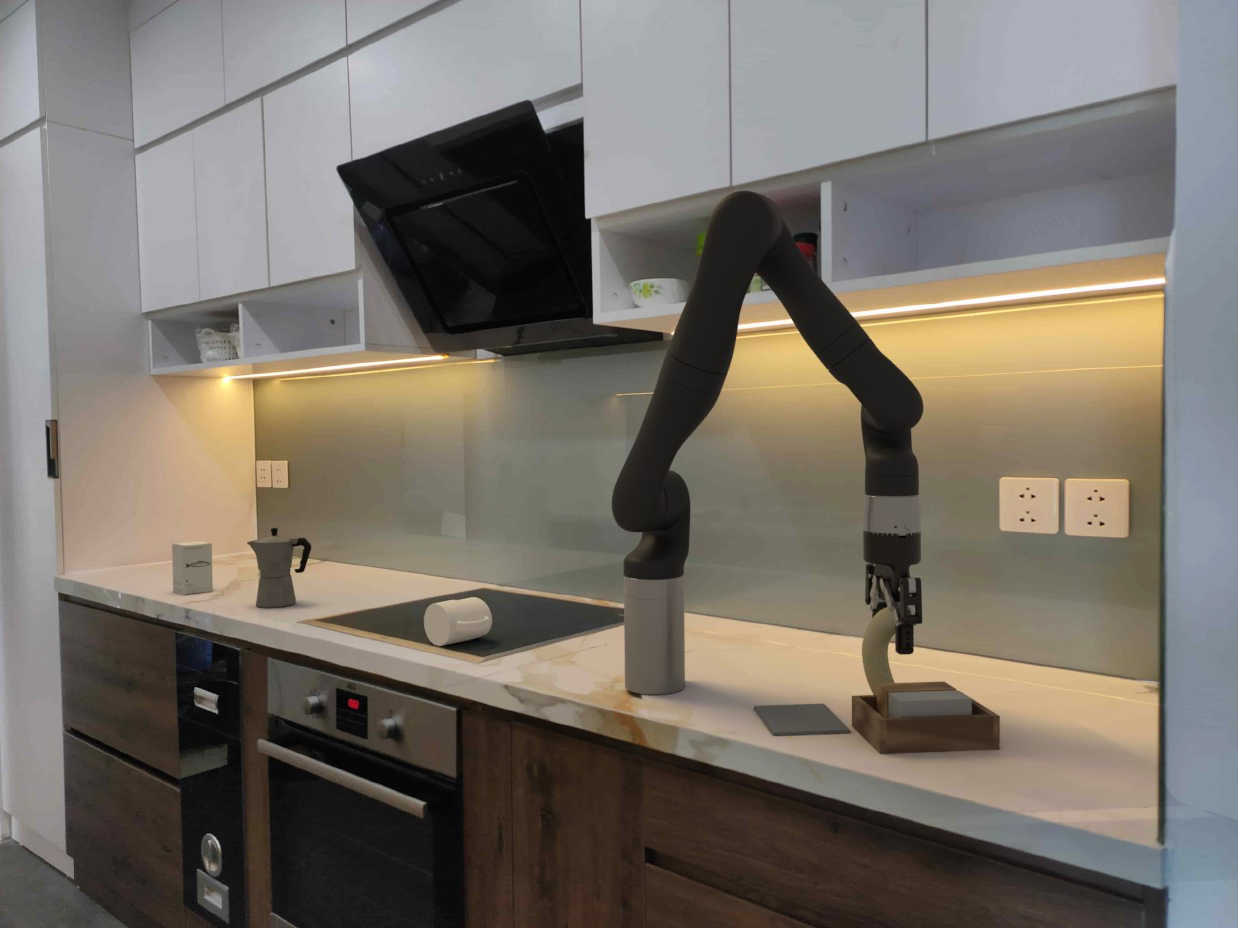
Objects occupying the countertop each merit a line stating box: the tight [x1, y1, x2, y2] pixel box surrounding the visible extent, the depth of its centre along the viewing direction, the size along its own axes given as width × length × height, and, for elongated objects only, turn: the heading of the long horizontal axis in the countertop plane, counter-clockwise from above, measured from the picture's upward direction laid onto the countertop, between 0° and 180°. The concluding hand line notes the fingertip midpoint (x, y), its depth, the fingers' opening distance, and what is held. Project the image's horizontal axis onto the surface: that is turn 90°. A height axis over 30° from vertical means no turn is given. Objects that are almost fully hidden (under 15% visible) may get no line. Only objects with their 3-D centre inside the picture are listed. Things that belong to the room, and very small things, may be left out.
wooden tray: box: [851, 692, 1001, 755], centre depth 109 cm, size 10×15×4 cm
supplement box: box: [171, 540, 214, 596], centre depth 222 cm, size 7×7×13 cm
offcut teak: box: [877, 681, 958, 718], centre depth 111 cm, size 4×9×6 cm, turn 94°
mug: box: [423, 596, 493, 647], centre depth 164 cm, size 12×9×8 cm
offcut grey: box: [889, 689, 973, 718], centre depth 107 cm, size 4×9×6 cm, turn 94°
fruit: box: [861, 607, 915, 695], centre depth 119 cm, size 7×15×3 cm
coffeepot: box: [246, 527, 312, 609], centre depth 204 cm, size 15×9×18 cm, turn 85°
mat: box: [753, 702, 851, 737], centre depth 116 cm, size 11×10×1 cm
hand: (892, 645), depth 119 cm, fingers open, 8 cm apart
